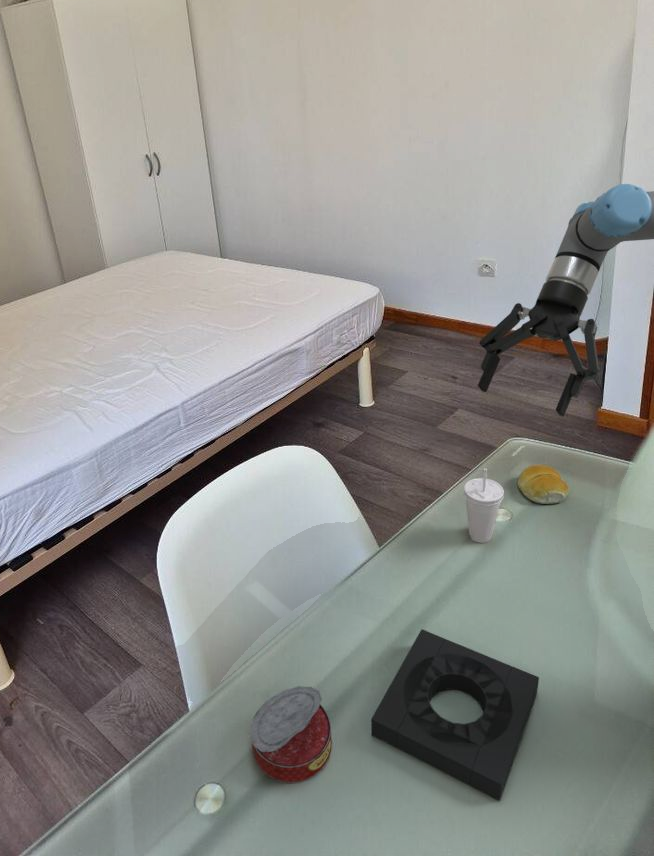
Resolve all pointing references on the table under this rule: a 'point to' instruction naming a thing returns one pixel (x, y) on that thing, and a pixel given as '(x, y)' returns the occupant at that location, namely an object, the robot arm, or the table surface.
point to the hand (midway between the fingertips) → (519, 401)
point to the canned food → (292, 735)
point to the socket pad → (452, 742)
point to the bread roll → (542, 484)
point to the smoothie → (482, 506)
